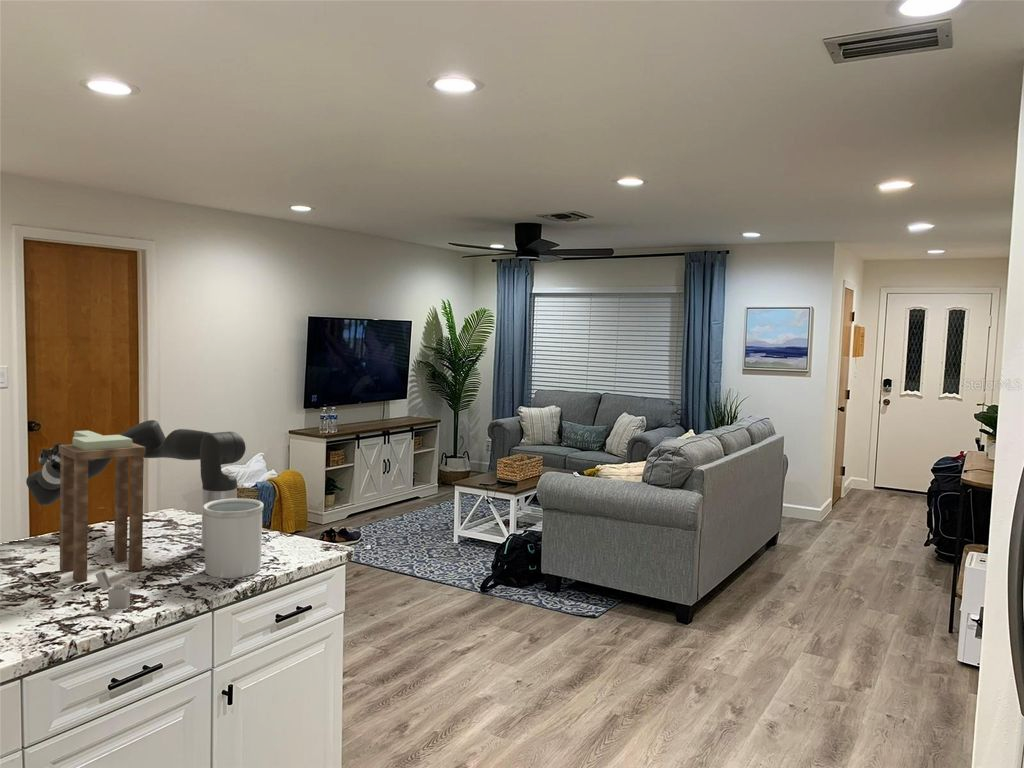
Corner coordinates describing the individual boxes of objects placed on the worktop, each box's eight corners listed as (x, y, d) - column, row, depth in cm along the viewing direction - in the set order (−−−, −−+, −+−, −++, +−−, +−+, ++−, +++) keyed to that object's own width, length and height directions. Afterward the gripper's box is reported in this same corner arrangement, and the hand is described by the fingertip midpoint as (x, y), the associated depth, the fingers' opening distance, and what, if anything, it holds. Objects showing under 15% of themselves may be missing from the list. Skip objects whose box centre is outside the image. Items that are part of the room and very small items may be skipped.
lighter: (130, 606, 172) (130, 571, 172) (126, 609, 170) (126, 573, 170) (99, 604, 172) (99, 569, 172) (94, 607, 170) (95, 572, 170)
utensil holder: (226, 583, 190) (227, 514, 189) (189, 571, 198) (190, 504, 197) (274, 569, 202) (275, 504, 201) (238, 558, 210) (239, 495, 209)
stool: (124, 558, 206) (125, 440, 203) (143, 570, 197) (145, 447, 195) (58, 569, 194) (58, 445, 192) (75, 583, 185) (76, 452, 183)
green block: (103, 436, 208) (103, 429, 208) (132, 446, 194) (132, 439, 194) (58, 439, 200) (58, 432, 200) (85, 450, 186) (85, 442, 186)
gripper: (29, 456, 212) (45, 433, 202) (85, 452, 222) (103, 430, 212) (33, 482, 209) (50, 460, 199) (90, 476, 220) (108, 455, 210)
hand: (77, 444), depth 206 cm, fingers open, 8 cm apart
